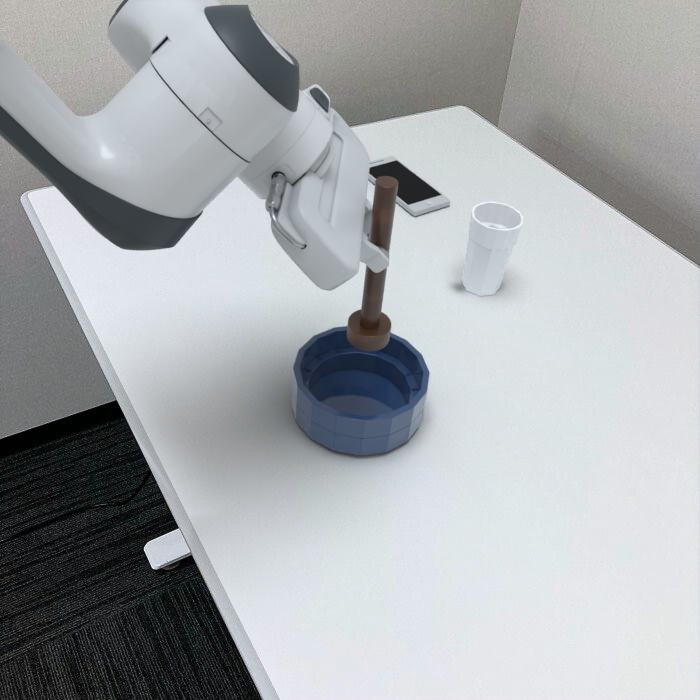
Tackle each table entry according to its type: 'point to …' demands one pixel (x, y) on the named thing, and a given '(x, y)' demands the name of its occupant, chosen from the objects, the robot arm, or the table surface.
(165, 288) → the table surface
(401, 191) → the smartphone
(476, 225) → the cup
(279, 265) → the table surface
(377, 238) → the stick
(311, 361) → the bowl
